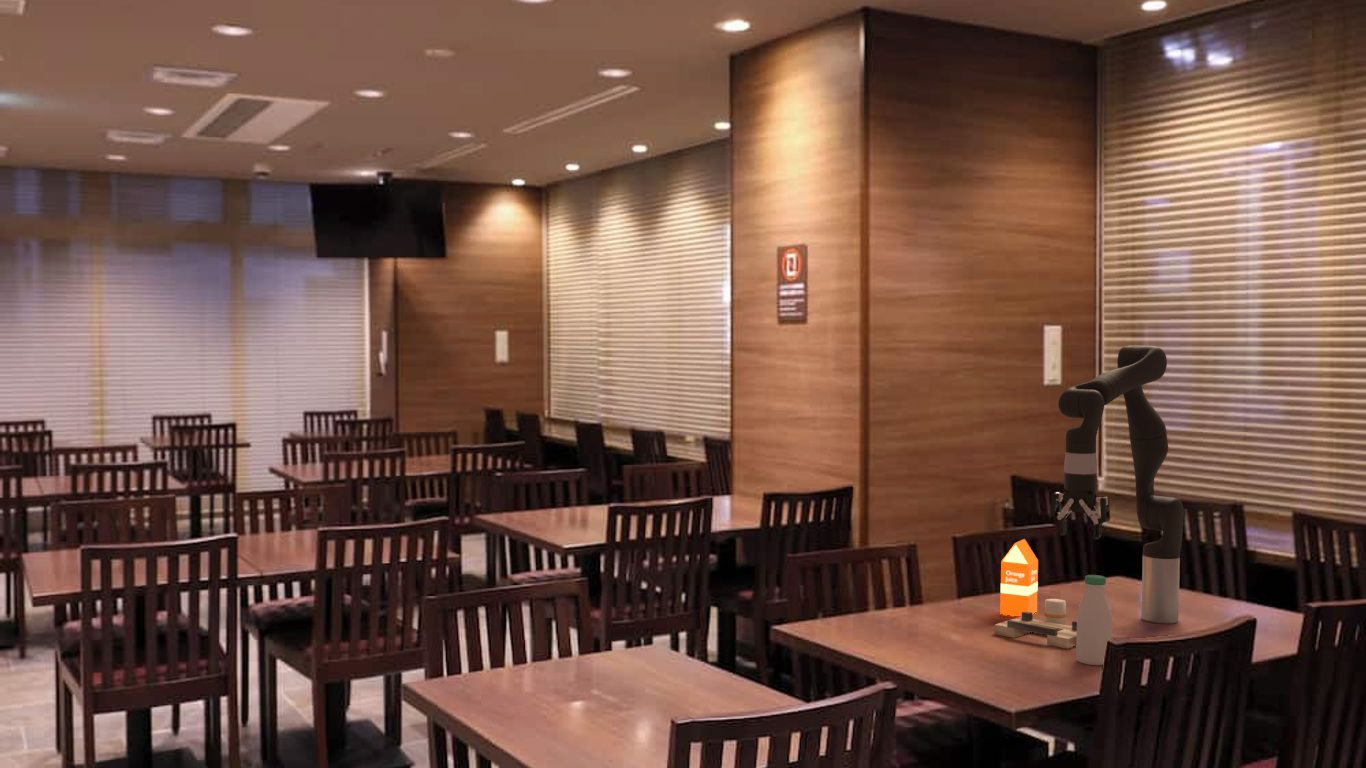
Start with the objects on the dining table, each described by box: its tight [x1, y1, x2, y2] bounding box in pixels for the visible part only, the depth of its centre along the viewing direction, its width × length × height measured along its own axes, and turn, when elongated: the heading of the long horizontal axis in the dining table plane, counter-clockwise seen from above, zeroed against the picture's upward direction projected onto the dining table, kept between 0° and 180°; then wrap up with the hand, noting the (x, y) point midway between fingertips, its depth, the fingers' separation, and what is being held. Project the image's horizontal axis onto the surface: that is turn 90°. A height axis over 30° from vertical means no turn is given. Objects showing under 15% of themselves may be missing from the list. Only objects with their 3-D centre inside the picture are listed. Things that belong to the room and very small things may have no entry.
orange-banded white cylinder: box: [1043, 598, 1067, 625], centre depth 315 cm, size 5×5×7 cm
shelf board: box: [994, 611, 1077, 649], centre depth 305 cm, size 13×20×4 cm, turn 45°
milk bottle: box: [1075, 574, 1113, 666], centre depth 281 cm, size 8×8×20 cm
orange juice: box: [999, 538, 1039, 617], centre depth 331 cm, size 8×9×20 cm
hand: (1079, 537), depth 296 cm, fingers open, 8 cm apart
